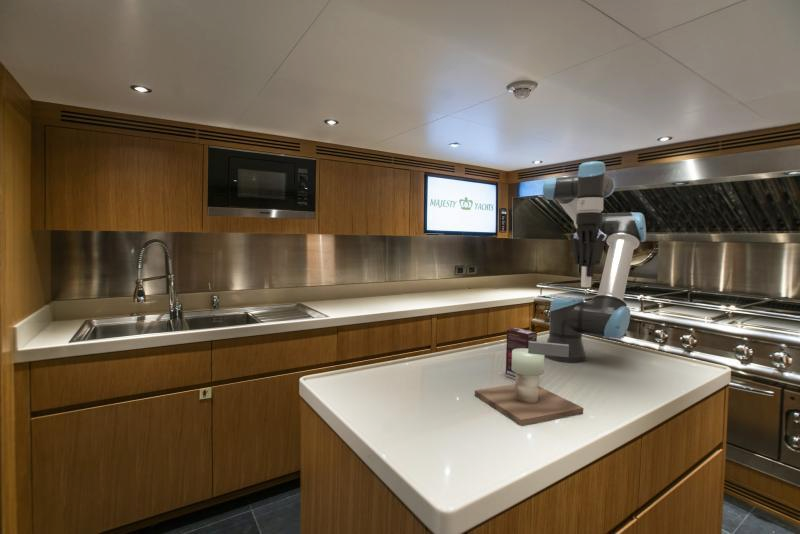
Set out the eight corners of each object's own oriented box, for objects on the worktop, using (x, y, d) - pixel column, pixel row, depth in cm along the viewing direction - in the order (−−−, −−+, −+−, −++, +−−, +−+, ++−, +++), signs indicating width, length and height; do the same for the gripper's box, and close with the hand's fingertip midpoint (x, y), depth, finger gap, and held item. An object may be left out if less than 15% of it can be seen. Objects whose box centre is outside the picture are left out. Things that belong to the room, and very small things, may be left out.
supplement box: (536, 381, 125) (538, 332, 124) (526, 384, 123) (528, 333, 122) (514, 373, 132) (515, 327, 131) (504, 376, 130) (506, 328, 129)
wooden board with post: (474, 395, 113) (475, 364, 112) (530, 386, 120) (531, 357, 120) (521, 425, 94) (522, 389, 94) (583, 413, 102) (584, 379, 101)
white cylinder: (510, 373, 104) (511, 343, 103) (512, 364, 112) (513, 336, 111) (568, 380, 100) (570, 349, 99) (565, 370, 108) (567, 341, 107)
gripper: (564, 213, 128) (561, 284, 130) (598, 210, 116) (594, 289, 118) (581, 214, 131) (578, 284, 133) (616, 211, 119) (612, 288, 121)
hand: (585, 286), depth 125 cm, fingers closed
